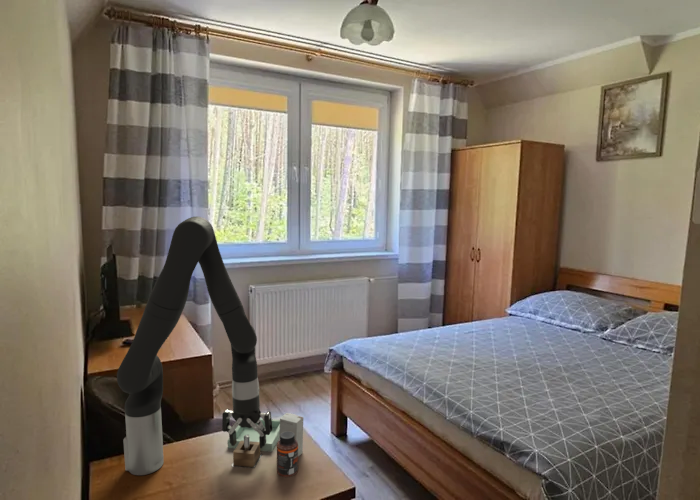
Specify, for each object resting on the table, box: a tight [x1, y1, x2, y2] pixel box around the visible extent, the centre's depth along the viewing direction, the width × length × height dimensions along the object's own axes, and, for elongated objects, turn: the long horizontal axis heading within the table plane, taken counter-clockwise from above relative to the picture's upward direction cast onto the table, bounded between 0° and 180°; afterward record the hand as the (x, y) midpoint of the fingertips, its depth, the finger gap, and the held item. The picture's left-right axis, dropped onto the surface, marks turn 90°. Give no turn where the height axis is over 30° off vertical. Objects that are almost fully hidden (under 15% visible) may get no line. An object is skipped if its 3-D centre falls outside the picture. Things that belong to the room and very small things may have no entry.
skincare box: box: [278, 412, 304, 458], centre depth 134 cm, size 6×4×12 cm
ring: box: [232, 441, 261, 467], centre depth 132 cm, size 6×7×4 cm
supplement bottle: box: [276, 431, 299, 478], centre depth 126 cm, size 6×6×11 cm
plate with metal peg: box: [231, 435, 263, 469], centre depth 131 cm, size 7×7×8 cm
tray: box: [227, 417, 280, 453], centre depth 143 cm, size 14×14×3 cm
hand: (248, 445), depth 131 cm, fingers open, 8 cm apart
